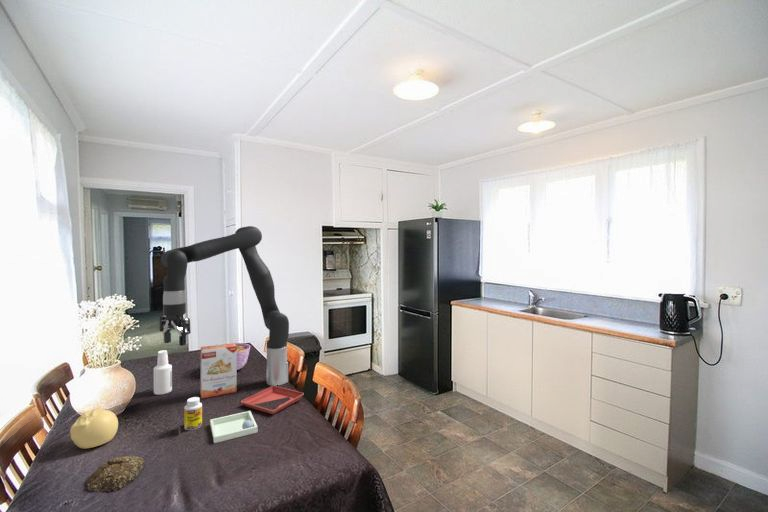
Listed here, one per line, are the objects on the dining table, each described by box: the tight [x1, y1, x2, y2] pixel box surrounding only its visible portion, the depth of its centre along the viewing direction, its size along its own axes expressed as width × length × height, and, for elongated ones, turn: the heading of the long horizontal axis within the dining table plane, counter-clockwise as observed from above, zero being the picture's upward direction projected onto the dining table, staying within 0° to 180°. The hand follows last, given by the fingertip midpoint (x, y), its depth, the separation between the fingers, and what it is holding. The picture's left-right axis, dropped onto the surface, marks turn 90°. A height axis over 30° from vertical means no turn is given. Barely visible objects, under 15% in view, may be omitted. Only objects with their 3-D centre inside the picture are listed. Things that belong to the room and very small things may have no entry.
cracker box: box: [200, 342, 238, 399], centre depth 153 cm, size 14×6×21 cm, turn 122°
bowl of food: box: [221, 342, 251, 371], centre depth 181 cm, size 20×20×12 cm
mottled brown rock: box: [85, 455, 147, 493], centre depth 98 cm, size 13×12×5 cm
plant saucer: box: [240, 385, 304, 415], centre depth 144 cm, size 18×18×3 cm
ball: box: [242, 420, 253, 429], centre depth 122 cm, size 4×4×4 cm
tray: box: [209, 410, 259, 444], centre depth 123 cm, size 14×14×2 cm
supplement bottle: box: [183, 396, 203, 431], centre depth 124 cm, size 6×6×10 cm
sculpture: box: [69, 407, 119, 450], centre depth 114 cm, size 12×12×11 cm
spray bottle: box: [153, 349, 173, 396], centre depth 154 cm, size 7×7×18 cm
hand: (175, 344), depth 135 cm, fingers open, 8 cm apart
